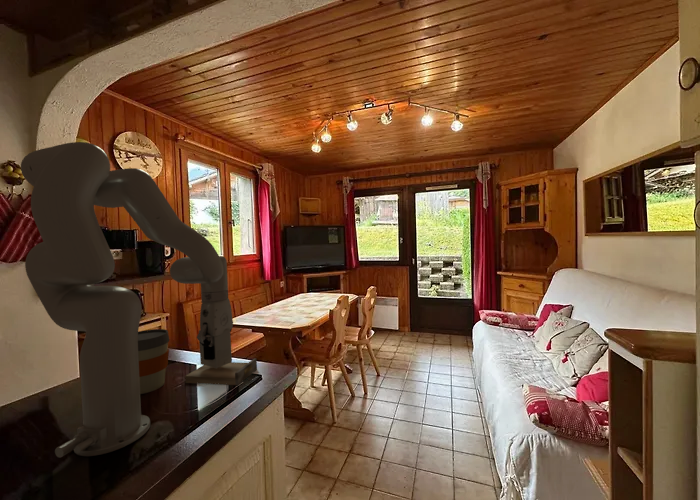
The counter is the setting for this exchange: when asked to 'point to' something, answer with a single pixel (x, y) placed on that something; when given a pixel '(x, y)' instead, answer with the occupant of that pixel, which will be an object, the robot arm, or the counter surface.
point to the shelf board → (223, 373)
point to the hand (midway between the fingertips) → (217, 354)
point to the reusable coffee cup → (152, 358)
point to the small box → (219, 350)
